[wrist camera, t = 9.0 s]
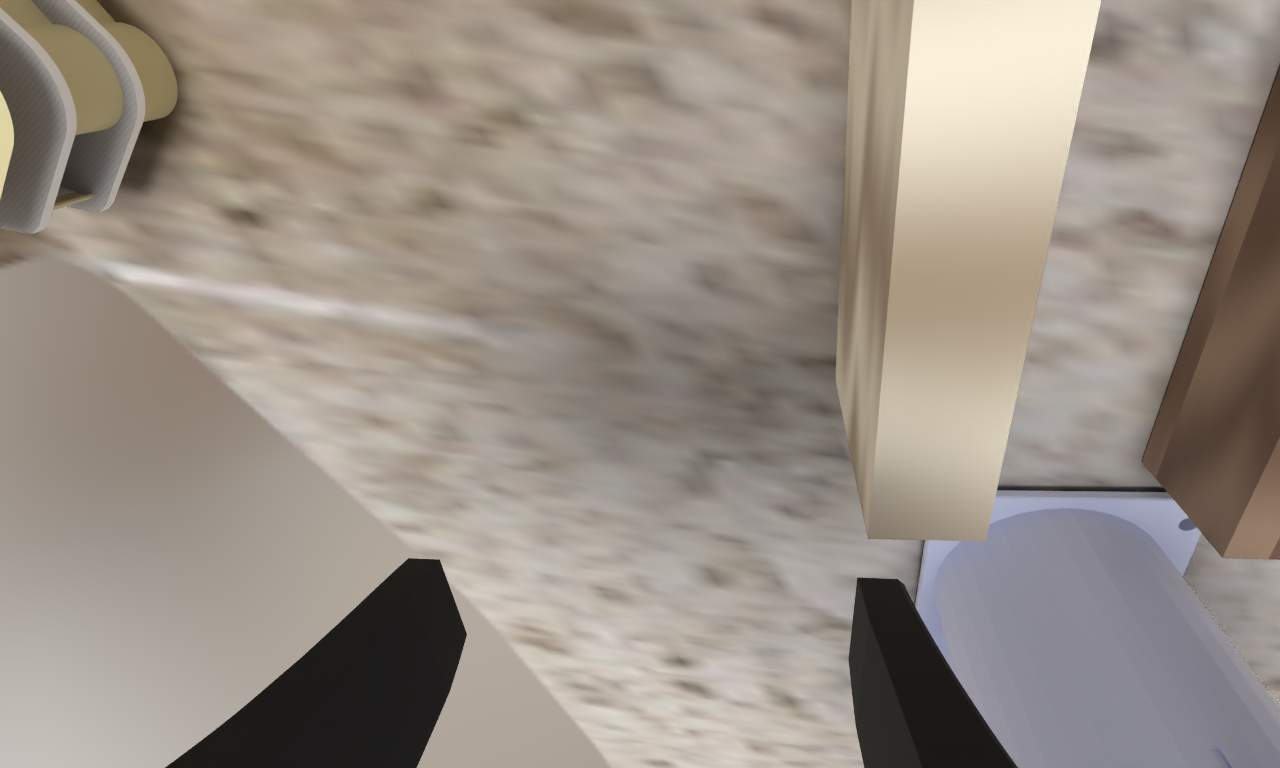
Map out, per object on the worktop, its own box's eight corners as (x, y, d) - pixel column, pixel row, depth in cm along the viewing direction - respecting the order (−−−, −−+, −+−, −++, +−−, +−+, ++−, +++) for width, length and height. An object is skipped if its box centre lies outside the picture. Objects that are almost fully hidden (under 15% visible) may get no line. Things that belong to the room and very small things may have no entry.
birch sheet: (916, 376, 19) (985, 541, 14) (835, 378, 20) (867, 538, 14) (973, -111, 13) (1143, -199, 8) (855, -93, 14) (927, -160, 8)
